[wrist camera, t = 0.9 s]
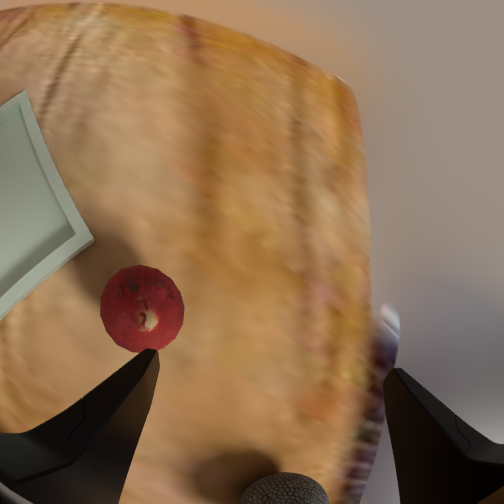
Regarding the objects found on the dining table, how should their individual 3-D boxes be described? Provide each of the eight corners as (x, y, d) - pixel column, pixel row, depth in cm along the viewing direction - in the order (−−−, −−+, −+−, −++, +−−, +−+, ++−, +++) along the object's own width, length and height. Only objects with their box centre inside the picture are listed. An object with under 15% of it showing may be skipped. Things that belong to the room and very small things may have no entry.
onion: (94, 276, 19) (82, 278, 12) (161, 259, 21) (185, 251, 14) (116, 347, 19) (117, 384, 12) (180, 327, 22) (213, 352, 15)
